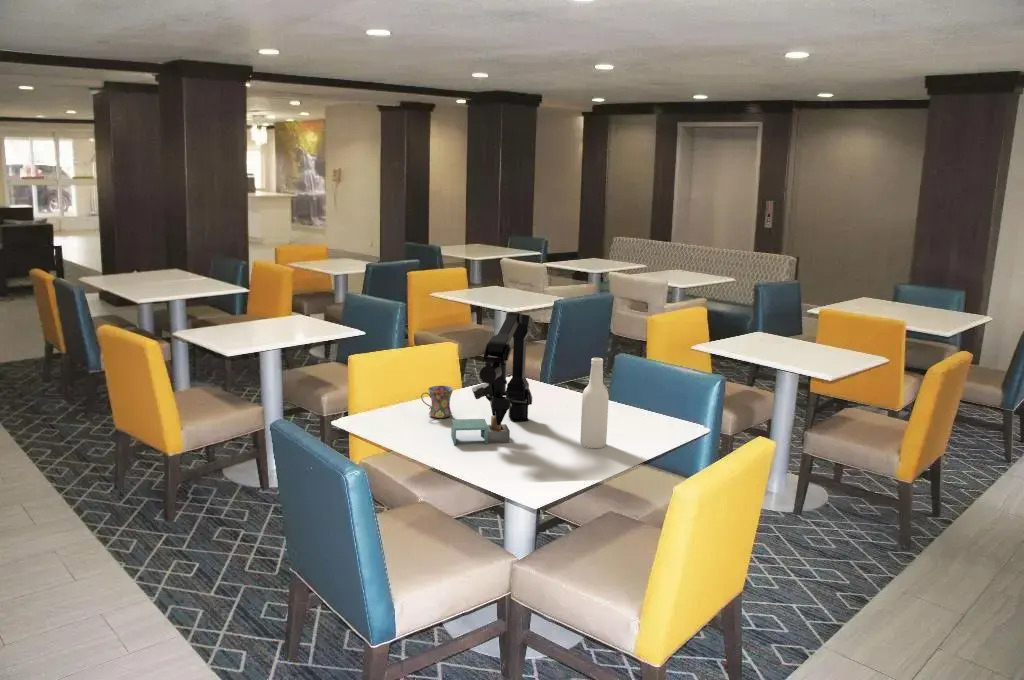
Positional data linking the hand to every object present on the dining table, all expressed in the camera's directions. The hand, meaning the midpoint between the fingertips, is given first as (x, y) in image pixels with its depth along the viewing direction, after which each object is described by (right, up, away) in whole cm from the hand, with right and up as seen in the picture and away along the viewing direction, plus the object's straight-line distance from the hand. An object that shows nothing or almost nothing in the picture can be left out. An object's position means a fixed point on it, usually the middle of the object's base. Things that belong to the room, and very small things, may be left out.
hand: (496, 420), depth 284 cm
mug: (-23, -1, +26) cm, 35 cm away
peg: (0, -6, +1) cm, 7 cm away
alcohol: (+33, -8, -2) cm, 34 cm away
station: (-6, -6, 0) cm, 9 cm away
